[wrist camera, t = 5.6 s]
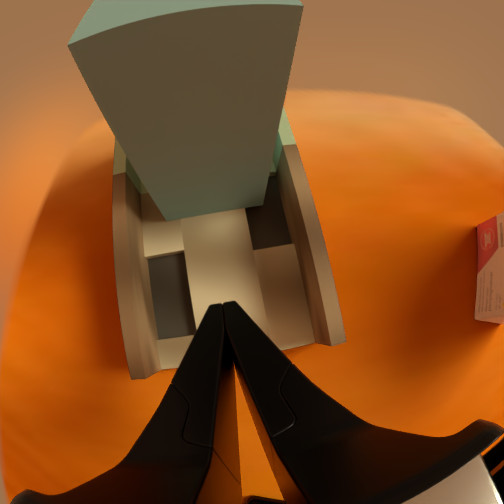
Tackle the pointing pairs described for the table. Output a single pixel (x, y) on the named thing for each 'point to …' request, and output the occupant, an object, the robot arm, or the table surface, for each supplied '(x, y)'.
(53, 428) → the table surface
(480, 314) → the ink cartridge box
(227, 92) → the block
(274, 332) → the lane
